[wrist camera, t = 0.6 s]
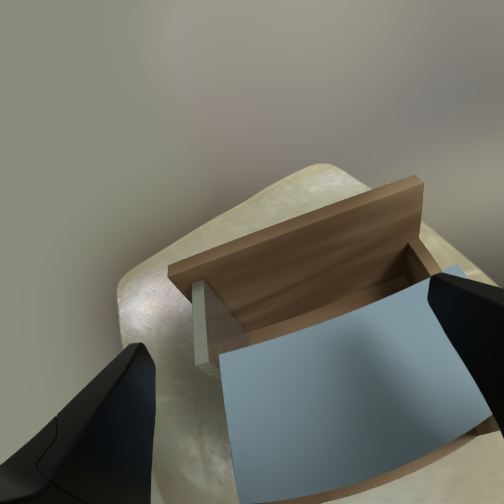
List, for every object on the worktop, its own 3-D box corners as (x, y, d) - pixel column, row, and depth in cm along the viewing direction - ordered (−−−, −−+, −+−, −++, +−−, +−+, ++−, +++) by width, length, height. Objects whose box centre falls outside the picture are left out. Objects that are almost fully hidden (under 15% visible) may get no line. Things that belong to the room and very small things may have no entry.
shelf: (485, 429, 10) (563, 397, 4) (255, 511, 13) (180, 540, 6) (407, 266, 22) (415, 174, 15) (227, 331, 24) (168, 265, 17)
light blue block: (459, 420, 12) (524, 387, 5) (290, 484, 13) (238, 504, 7) (425, 338, 17) (457, 263, 10) (272, 396, 18) (217, 354, 12)
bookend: (259, 396, 19) (208, 362, 13) (234, 402, 19) (175, 369, 13) (248, 334, 22) (203, 279, 17) (226, 341, 23) (175, 289, 17)
